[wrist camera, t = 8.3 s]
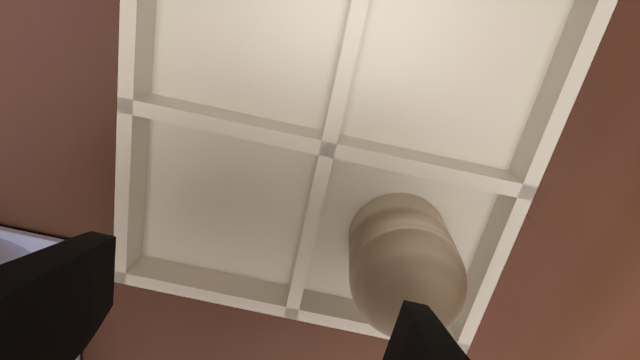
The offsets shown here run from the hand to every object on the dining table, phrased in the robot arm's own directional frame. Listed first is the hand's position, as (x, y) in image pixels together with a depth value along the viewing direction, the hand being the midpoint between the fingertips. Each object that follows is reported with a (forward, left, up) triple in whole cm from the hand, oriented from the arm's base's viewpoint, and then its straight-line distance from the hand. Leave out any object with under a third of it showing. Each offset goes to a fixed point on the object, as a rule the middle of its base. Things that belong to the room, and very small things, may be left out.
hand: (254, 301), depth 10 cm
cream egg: (-2, -5, -9) cm, 10 cm away
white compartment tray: (+6, -1, -9) cm, 11 cm away
